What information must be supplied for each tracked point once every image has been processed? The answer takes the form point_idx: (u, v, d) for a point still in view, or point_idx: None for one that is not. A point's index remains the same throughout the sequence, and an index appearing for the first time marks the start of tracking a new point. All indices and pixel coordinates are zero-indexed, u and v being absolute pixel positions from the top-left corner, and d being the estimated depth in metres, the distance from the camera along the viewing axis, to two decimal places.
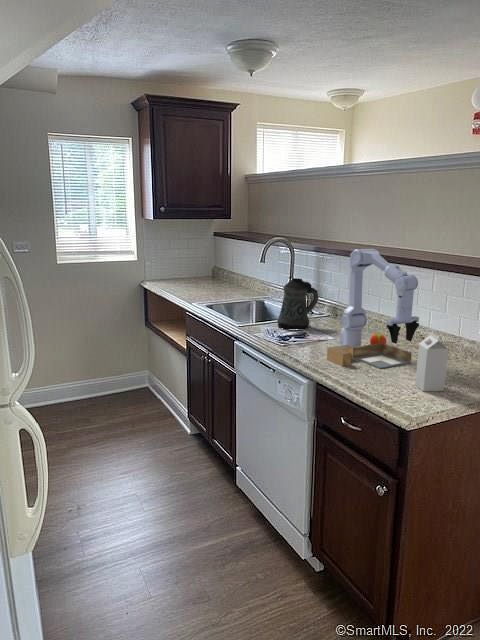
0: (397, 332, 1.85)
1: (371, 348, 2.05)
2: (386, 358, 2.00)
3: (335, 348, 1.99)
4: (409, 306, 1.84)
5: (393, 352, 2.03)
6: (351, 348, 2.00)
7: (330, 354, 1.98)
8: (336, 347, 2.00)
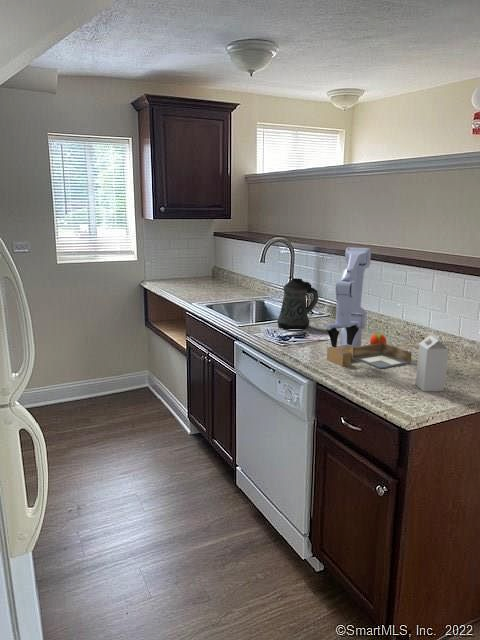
0: (336, 336, 1.90)
1: (371, 348, 2.05)
2: (386, 358, 2.00)
3: (335, 348, 1.99)
4: (341, 311, 1.89)
5: (393, 352, 2.03)
6: (351, 348, 2.00)
7: (330, 354, 1.98)
8: (336, 347, 2.00)
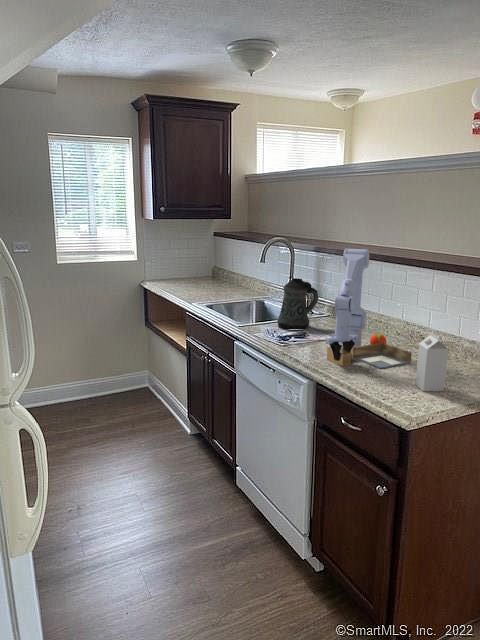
0: (338, 350, 1.92)
1: (371, 348, 2.05)
2: (386, 358, 2.00)
3: None
4: (340, 325, 1.90)
5: (393, 352, 2.03)
6: None
7: (330, 354, 1.98)
8: None
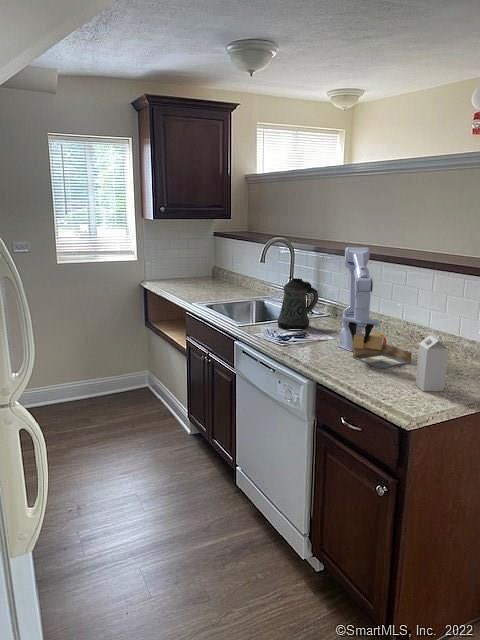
0: (352, 330, 1.94)
1: (371, 348, 2.05)
2: (386, 358, 2.00)
3: (363, 334, 1.99)
4: (362, 307, 1.90)
5: (393, 352, 2.03)
6: (380, 338, 1.95)
7: None
8: None
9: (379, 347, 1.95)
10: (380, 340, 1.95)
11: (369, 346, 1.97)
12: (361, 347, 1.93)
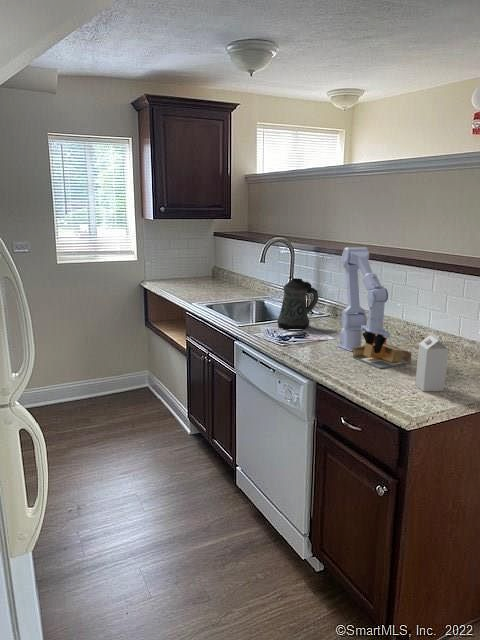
0: (365, 339, 1.99)
1: None
2: None
3: (383, 345, 1.99)
4: (378, 317, 1.92)
5: None
6: (392, 350, 1.93)
7: None
8: (387, 346, 1.99)
9: (391, 359, 1.93)
10: (392, 352, 1.93)
11: (384, 357, 1.97)
12: (369, 356, 1.95)
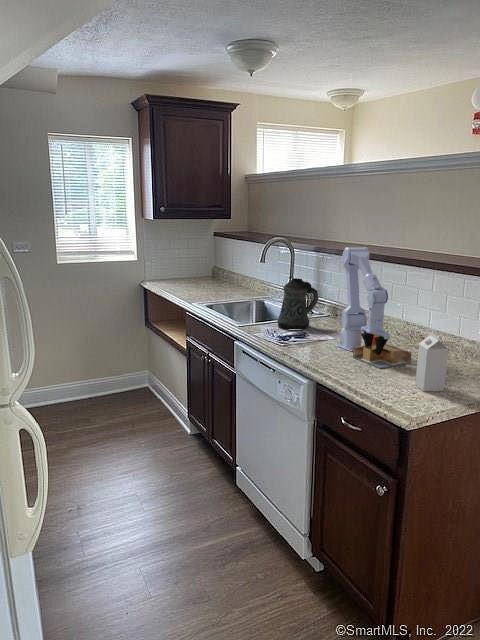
0: (364, 339, 1.99)
1: None
2: None
3: None
4: (378, 318, 1.92)
5: None
6: (391, 352, 1.93)
7: None
8: (386, 346, 1.99)
9: (390, 361, 1.93)
10: (391, 354, 1.93)
11: (383, 359, 1.97)
12: (368, 360, 1.96)
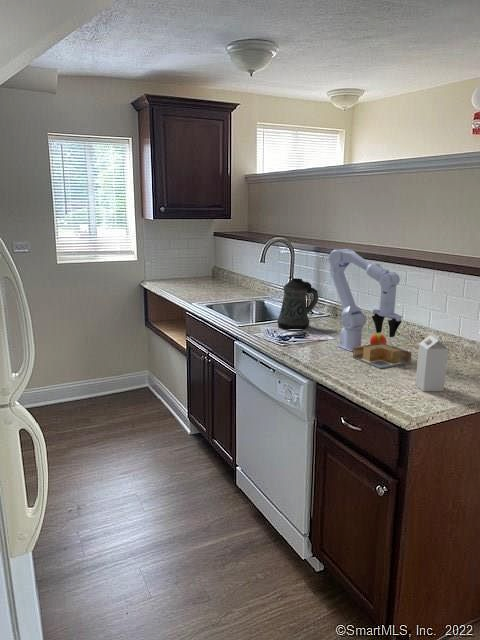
0: (374, 321, 2.05)
1: None
2: None
3: (382, 346, 1.99)
4: (393, 301, 1.98)
5: None
6: (391, 352, 1.93)
7: None
8: (386, 346, 1.99)
9: (390, 361, 1.93)
10: (391, 354, 1.93)
11: (383, 359, 1.97)
12: (368, 360, 1.96)
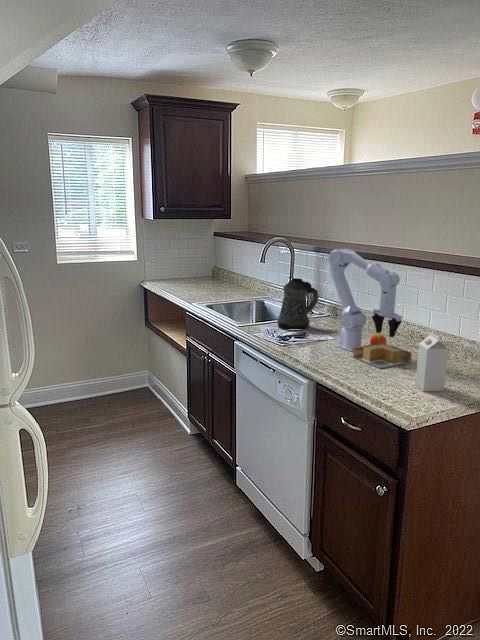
0: (374, 321, 2.05)
1: None
2: None
3: (382, 346, 1.99)
4: (393, 301, 1.98)
5: None
6: (391, 352, 1.93)
7: None
8: (386, 346, 1.99)
9: (390, 361, 1.93)
10: (391, 354, 1.93)
11: (383, 359, 1.97)
12: (368, 360, 1.96)
